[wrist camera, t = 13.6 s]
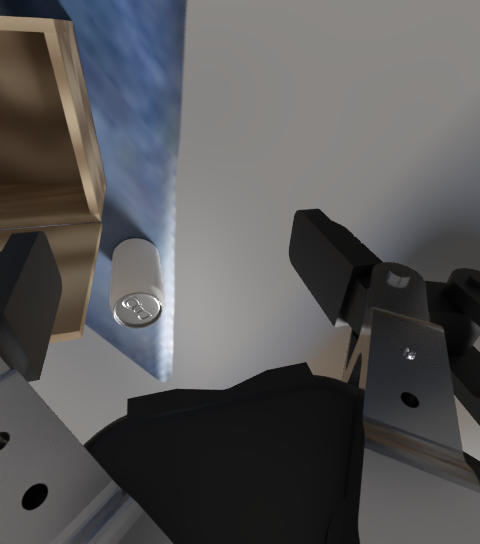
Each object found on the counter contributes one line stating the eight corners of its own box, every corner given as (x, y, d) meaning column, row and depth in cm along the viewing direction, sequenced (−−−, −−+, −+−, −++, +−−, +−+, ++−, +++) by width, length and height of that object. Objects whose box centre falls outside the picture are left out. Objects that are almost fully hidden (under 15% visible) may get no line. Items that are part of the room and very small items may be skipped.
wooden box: (-108, 10, 27) (-203, 3, 19) (72, 21, 30) (52, 18, 23) (-24, 191, 37) (-65, 234, 29) (106, 184, 40) (100, 221, 32)
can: (143, 229, 45) (146, 281, 36) (167, 261, 49) (176, 315, 40) (102, 250, 45) (96, 307, 36) (130, 280, 49) (130, 338, 40)
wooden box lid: (-227, 381, 16) (-141, 454, 20) (79, 334, 19) (102, 404, 23) (-65, 235, 29) (-31, 296, 33) (101, 222, 32) (113, 278, 36)
